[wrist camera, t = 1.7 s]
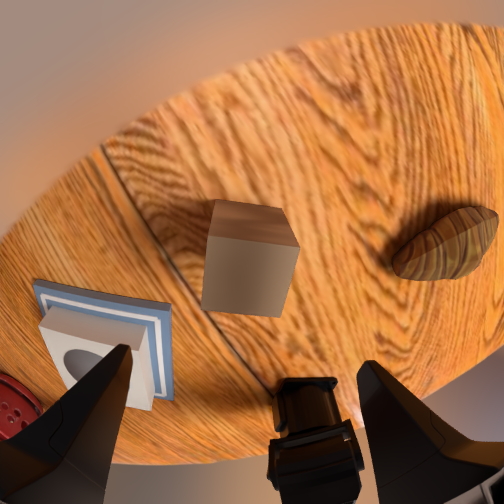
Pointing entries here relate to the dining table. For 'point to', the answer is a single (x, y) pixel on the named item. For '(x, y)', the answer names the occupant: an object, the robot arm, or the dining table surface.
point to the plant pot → (16, 407)
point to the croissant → (448, 246)
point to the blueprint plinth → (108, 337)
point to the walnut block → (248, 260)
